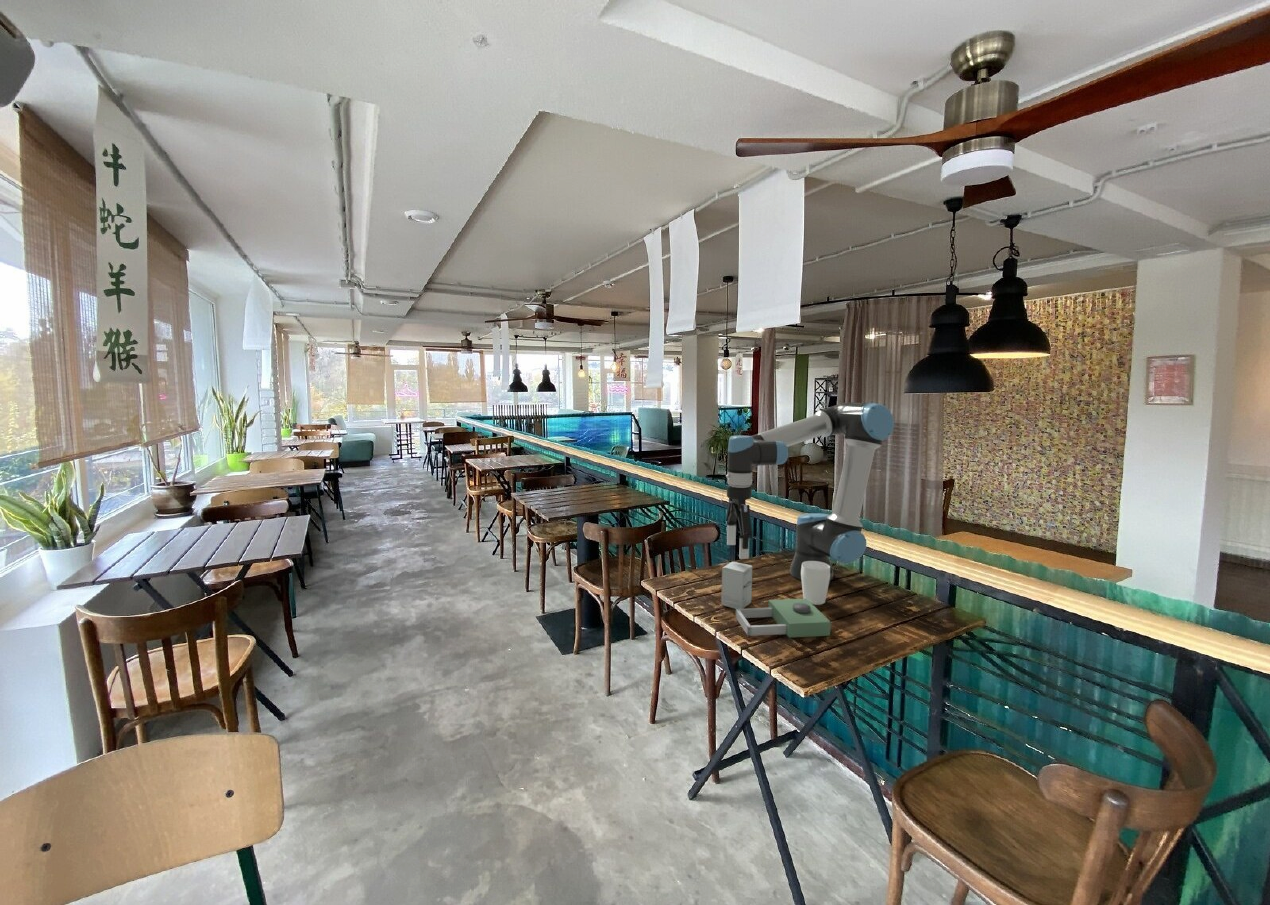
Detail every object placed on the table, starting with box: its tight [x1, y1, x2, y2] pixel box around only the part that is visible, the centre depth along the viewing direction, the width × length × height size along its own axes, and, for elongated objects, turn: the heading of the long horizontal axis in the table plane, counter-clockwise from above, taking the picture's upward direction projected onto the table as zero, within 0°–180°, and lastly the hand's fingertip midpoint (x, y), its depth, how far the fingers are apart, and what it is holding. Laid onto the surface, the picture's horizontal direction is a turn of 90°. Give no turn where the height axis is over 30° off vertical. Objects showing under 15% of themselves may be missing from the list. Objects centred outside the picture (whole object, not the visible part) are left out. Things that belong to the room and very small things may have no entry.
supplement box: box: [720, 561, 753, 610], centre depth 162 cm, size 7×7×13 cm
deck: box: [734, 598, 832, 639], centre depth 149 cm, size 23×16×5 cm
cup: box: [801, 561, 831, 606], centre depth 165 cm, size 9×9×12 cm
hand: (737, 551), depth 161 cm, fingers open, 13 cm apart
